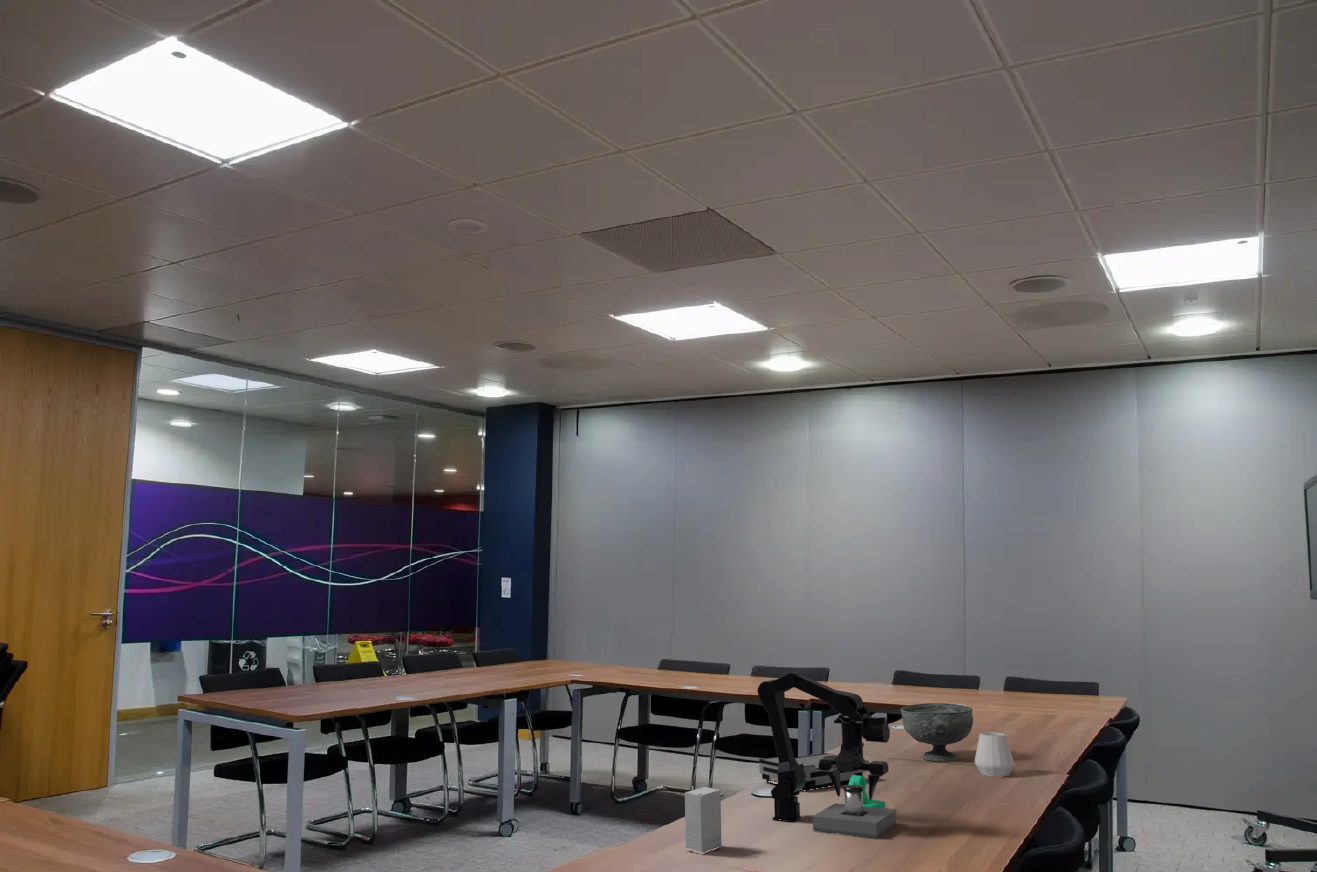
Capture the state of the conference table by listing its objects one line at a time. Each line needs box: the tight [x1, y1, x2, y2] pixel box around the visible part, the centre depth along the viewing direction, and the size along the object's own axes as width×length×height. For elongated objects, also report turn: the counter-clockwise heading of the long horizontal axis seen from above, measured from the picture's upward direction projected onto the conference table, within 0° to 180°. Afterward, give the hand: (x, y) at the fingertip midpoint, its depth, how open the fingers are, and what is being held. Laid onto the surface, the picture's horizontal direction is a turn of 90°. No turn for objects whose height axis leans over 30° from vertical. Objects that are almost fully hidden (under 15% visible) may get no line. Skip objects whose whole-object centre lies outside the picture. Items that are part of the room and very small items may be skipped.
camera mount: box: [843, 775, 886, 809], centre depth 293 cm, size 12×8×10 cm, turn 138°
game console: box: [758, 752, 870, 790], centre depth 338 cm, size 21×32×8 cm, turn 124°
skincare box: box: [684, 786, 723, 852], centre depth 253 cm, size 8×6×15 cm
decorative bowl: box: [900, 702, 974, 763], centre depth 379 cm, size 26×26×20 cm
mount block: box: [812, 803, 897, 840], centre depth 273 cm, size 18×18×4 cm
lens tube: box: [842, 784, 864, 817], centre depth 274 cm, size 6×6×10 cm
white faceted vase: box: [974, 731, 1015, 777], centre depth 347 cm, size 13×13×14 cm
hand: (854, 797), depth 274 cm, fingers open, 9 cm apart
